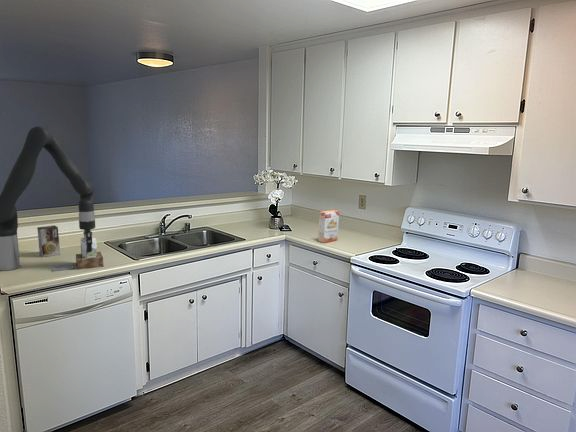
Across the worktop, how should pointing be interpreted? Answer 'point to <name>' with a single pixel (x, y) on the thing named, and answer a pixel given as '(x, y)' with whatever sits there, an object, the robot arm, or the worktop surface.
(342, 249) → the worktop surface
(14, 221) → the robot arm
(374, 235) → the worktop surface
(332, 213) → the cracker box
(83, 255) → the syrup box
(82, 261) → the box
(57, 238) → the coffee box
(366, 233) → the worktop surface
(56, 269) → the coaster
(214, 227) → the worktop surface
